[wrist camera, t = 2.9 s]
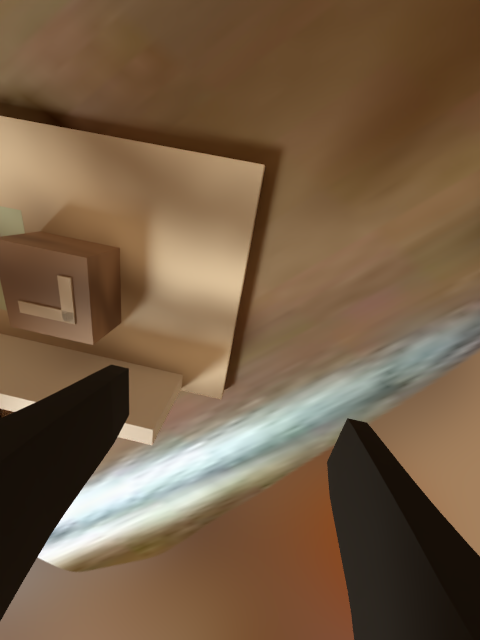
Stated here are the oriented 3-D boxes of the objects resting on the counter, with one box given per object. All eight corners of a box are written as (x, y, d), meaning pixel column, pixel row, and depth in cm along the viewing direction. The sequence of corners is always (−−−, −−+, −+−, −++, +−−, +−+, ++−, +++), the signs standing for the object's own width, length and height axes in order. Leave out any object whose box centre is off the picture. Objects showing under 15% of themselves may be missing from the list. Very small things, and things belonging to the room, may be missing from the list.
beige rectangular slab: (181, 388, 19) (152, 445, 15) (-23, 341, 20) (-110, 382, 16) (182, 375, 19) (152, 429, 14) (-27, 327, 20) (-118, 365, 15)
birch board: (223, 390, 20) (221, 399, 19) (-33, 332, 21) (-47, 338, 20) (265, 167, 14) (264, 164, 13) (-104, 98, 15) (-129, 91, 14)
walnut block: (121, 322, 18) (92, 345, 15) (50, 307, 18) (8, 327, 15) (119, 247, 16) (85, 258, 13) (39, 231, 16) (-11, 238, 13)
